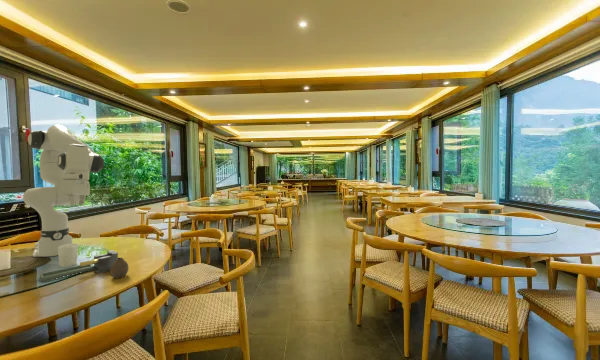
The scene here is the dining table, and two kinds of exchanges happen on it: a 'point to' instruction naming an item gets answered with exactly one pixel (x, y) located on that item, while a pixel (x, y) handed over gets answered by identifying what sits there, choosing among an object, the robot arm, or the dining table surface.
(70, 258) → the white cup
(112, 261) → the hitch block
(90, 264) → the hitch pin
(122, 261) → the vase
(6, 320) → the dining table surface
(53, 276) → the tray
